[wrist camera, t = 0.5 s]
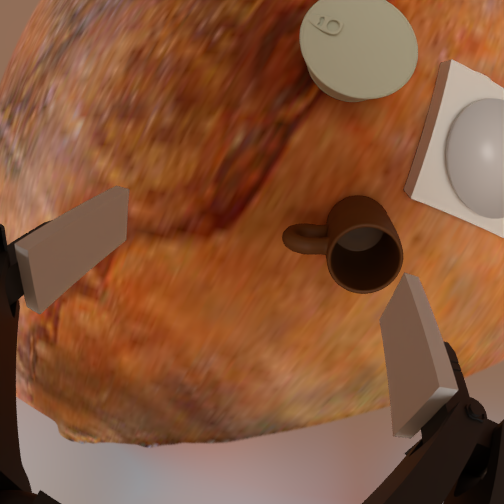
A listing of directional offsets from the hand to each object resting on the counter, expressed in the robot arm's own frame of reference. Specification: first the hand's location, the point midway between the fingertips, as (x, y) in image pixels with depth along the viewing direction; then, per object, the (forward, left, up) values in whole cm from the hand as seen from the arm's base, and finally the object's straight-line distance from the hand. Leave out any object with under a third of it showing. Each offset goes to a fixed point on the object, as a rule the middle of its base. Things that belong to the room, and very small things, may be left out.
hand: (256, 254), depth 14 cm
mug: (+5, +7, -24) cm, 26 cm away
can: (-13, +3, -24) cm, 27 cm away
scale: (-9, +21, -24) cm, 33 cm away
